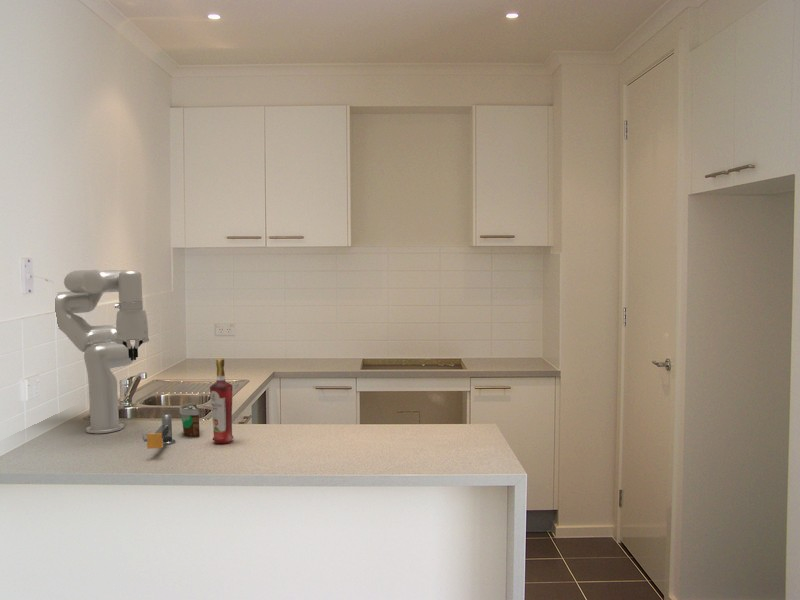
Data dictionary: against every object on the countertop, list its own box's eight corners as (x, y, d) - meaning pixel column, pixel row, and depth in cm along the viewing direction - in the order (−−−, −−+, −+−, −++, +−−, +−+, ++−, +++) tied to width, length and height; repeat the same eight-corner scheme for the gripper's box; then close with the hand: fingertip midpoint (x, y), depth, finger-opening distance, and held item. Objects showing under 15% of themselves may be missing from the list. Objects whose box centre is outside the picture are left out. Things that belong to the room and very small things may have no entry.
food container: (179, 431, 249) (178, 403, 248) (197, 429, 251) (196, 402, 250) (181, 439, 237) (180, 410, 237) (200, 437, 239) (198, 409, 239)
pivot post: (159, 441, 235) (158, 414, 234) (174, 440, 237) (173, 412, 236) (160, 445, 230) (159, 417, 230) (176, 443, 232) (175, 415, 232)
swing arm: (158, 435, 231) (158, 422, 230) (172, 434, 231) (172, 421, 231) (147, 448, 215) (146, 434, 215) (162, 447, 215) (161, 433, 215)
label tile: (143, 436, 243) (142, 433, 243) (161, 434, 245) (161, 431, 245) (144, 441, 235) (144, 438, 235) (163, 439, 238) (163, 436, 238)
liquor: (207, 443, 232) (203, 360, 230) (222, 438, 238) (219, 357, 236) (224, 446, 228) (220, 361, 226) (239, 440, 235) (236, 358, 233)
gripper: (107, 308, 233) (110, 363, 234) (154, 306, 239) (157, 359, 240) (107, 307, 239) (109, 360, 241) (153, 305, 245) (155, 356, 247)
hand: (133, 359), depth 240 cm, fingers closed
